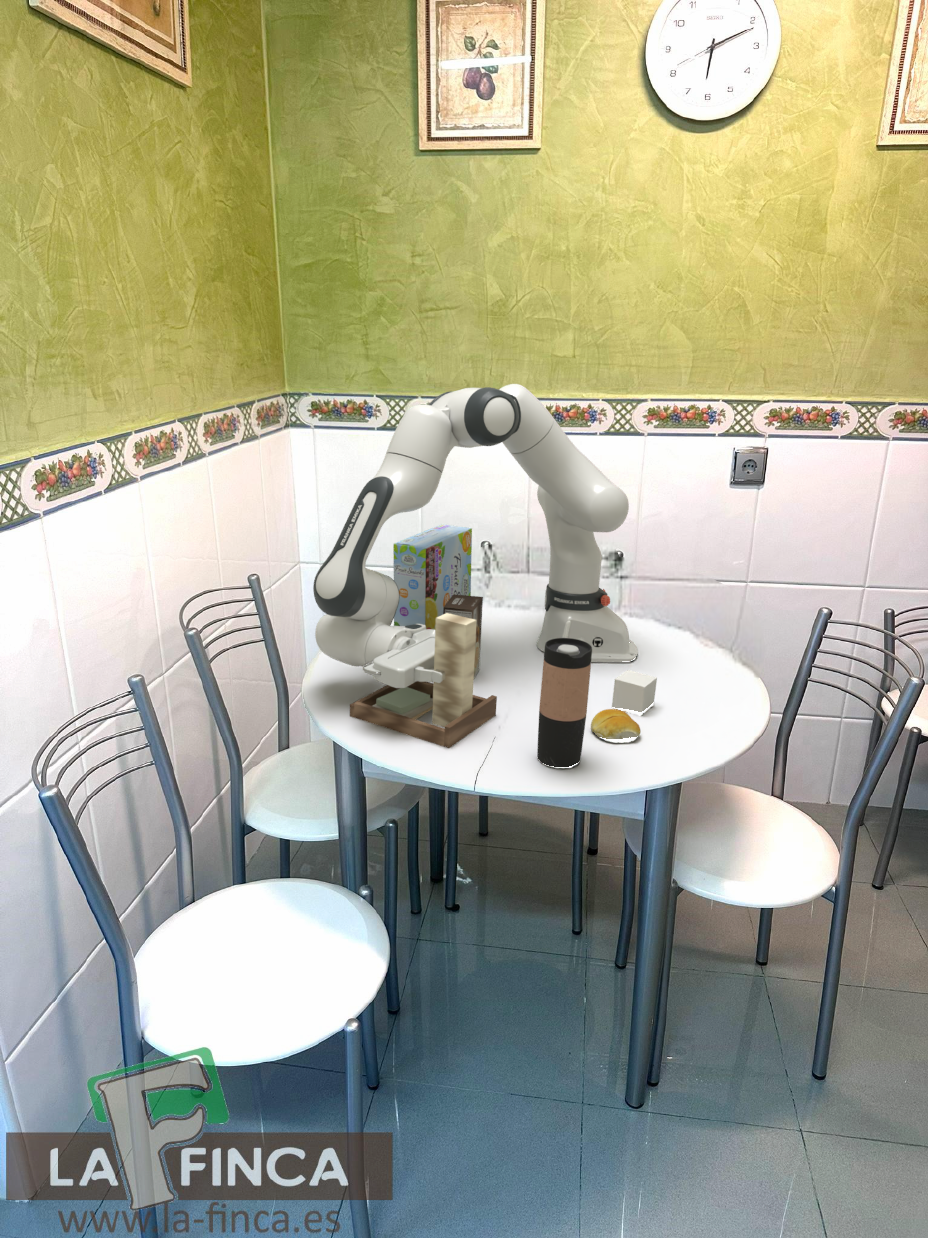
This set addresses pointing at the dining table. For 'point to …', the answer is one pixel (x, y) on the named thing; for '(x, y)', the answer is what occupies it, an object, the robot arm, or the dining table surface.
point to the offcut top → (403, 700)
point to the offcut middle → (413, 711)
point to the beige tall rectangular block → (453, 667)
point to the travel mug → (563, 701)
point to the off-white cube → (634, 691)
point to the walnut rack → (431, 733)
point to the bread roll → (614, 725)
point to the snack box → (431, 573)
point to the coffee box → (468, 609)
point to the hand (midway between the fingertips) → (457, 669)
